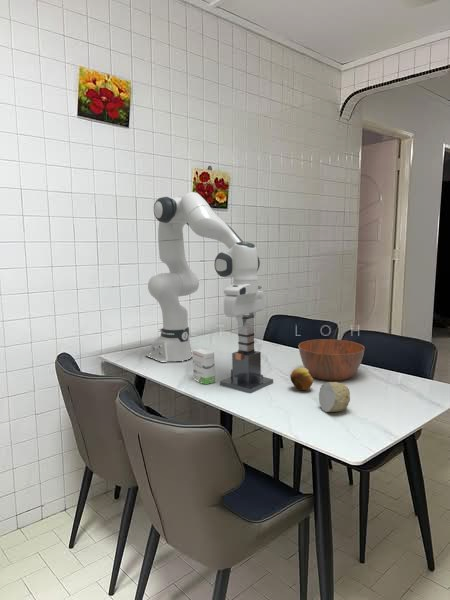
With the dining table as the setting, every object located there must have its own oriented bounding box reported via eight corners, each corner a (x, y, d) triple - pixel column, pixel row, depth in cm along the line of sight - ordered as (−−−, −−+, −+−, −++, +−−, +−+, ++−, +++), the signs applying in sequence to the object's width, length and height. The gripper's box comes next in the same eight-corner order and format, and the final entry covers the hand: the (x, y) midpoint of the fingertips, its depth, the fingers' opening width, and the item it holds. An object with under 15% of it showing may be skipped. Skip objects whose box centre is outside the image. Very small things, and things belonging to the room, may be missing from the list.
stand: (220, 385, 162) (219, 352, 160) (243, 376, 173) (243, 345, 171) (250, 393, 153) (250, 358, 151) (273, 383, 164) (273, 350, 162)
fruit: (308, 395, 151) (308, 372, 149) (286, 391, 155) (286, 368, 154) (316, 388, 157) (316, 366, 156) (294, 384, 161) (294, 363, 160)
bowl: (368, 369, 178) (368, 342, 177) (358, 388, 156) (359, 357, 154) (307, 363, 189) (307, 337, 187) (290, 380, 167) (290, 350, 165)
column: (238, 364, 162) (237, 316, 159) (245, 362, 165) (245, 314, 162) (247, 366, 159) (247, 317, 156) (254, 364, 162) (254, 315, 160)
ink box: (215, 382, 165) (215, 352, 164) (204, 385, 162) (203, 354, 161) (203, 377, 172) (202, 347, 171) (192, 379, 169) (191, 349, 168)
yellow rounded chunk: (307, 386, 139) (333, 370, 141) (319, 413, 140) (345, 398, 143) (321, 393, 130) (348, 377, 132) (334, 423, 131) (361, 406, 133)
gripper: (255, 284, 168) (255, 320, 170) (220, 289, 152) (221, 329, 154) (269, 285, 164) (269, 322, 166) (234, 291, 148) (235, 331, 150)
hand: (245, 325), depth 160 cm, fingers closed on column, 4 cm apart
